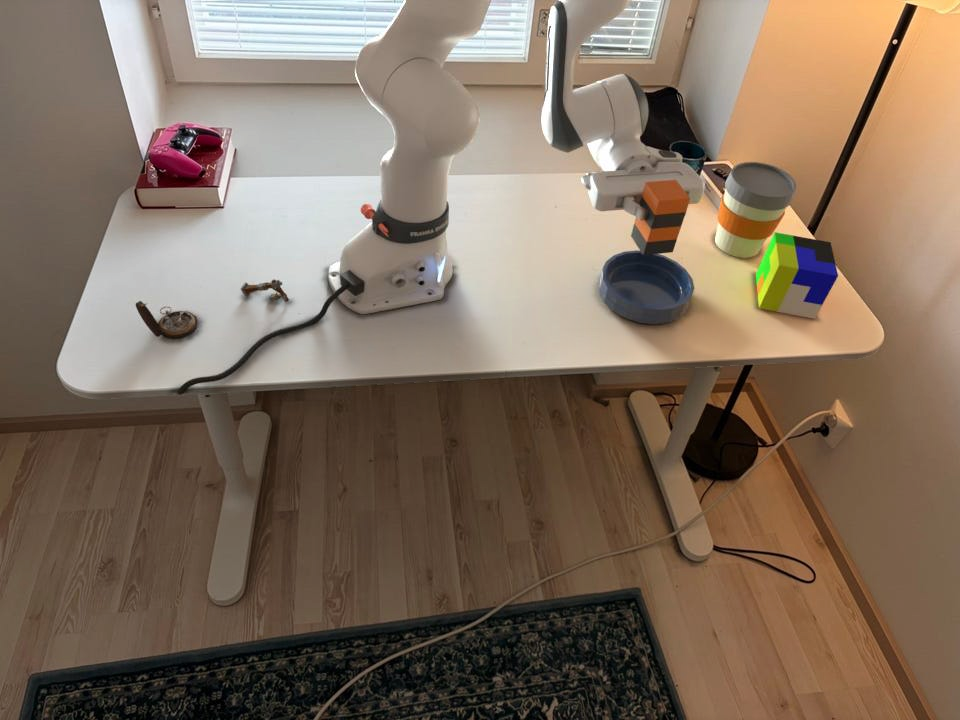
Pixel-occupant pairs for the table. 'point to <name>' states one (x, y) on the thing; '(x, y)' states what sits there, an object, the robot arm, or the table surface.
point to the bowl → (645, 287)
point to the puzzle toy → (795, 275)
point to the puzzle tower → (660, 217)
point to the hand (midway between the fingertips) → (663, 215)
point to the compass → (169, 322)
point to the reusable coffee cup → (752, 207)
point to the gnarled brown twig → (265, 286)
